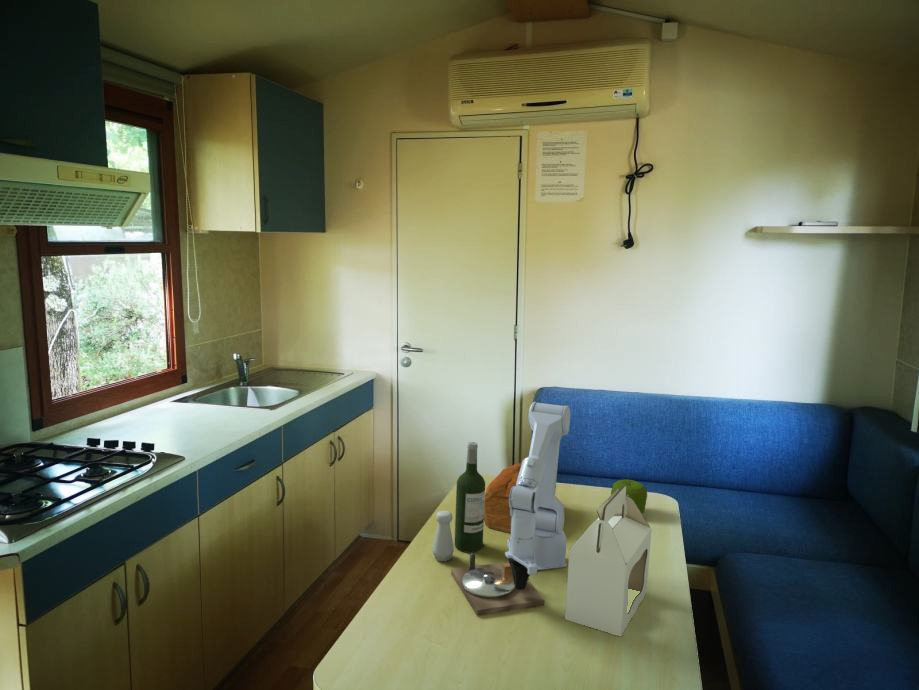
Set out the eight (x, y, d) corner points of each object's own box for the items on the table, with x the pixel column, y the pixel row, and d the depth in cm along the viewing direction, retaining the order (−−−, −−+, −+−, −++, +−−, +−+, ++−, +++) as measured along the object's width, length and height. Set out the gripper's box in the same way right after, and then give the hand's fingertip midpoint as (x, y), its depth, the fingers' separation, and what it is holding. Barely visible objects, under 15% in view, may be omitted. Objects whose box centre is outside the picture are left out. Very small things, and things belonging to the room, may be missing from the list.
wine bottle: (471, 555, 190) (475, 449, 185) (448, 546, 195) (452, 443, 190) (488, 545, 196) (492, 443, 191) (465, 537, 201) (469, 437, 196)
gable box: (595, 579, 179) (602, 475, 175) (646, 594, 173) (655, 486, 168) (564, 620, 160) (571, 505, 156) (620, 638, 154) (630, 518, 149)
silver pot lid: (472, 601, 164) (473, 583, 163) (455, 574, 176) (456, 557, 175) (530, 593, 168) (531, 575, 167) (509, 567, 180) (510, 551, 180)
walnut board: (512, 566, 185) (513, 545, 184) (544, 605, 166) (545, 582, 165) (451, 574, 179) (451, 552, 178) (477, 616, 161) (478, 591, 160)
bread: (476, 525, 209) (478, 475, 206) (512, 496, 233) (514, 451, 230) (527, 538, 202) (529, 486, 199) (558, 507, 225) (561, 460, 223)
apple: (608, 516, 219) (610, 483, 217) (611, 504, 229) (613, 472, 227) (644, 522, 216) (647, 488, 214) (646, 509, 226) (648, 477, 224)
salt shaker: (450, 564, 185) (452, 518, 182) (429, 561, 186) (431, 515, 183) (455, 554, 190) (457, 509, 188) (435, 551, 191) (436, 507, 189)
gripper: (496, 523, 170) (494, 575, 173) (517, 550, 157) (514, 605, 159) (523, 521, 172) (520, 572, 175) (546, 547, 159) (543, 602, 161)
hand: (519, 588), depth 167 cm, fingers closed
